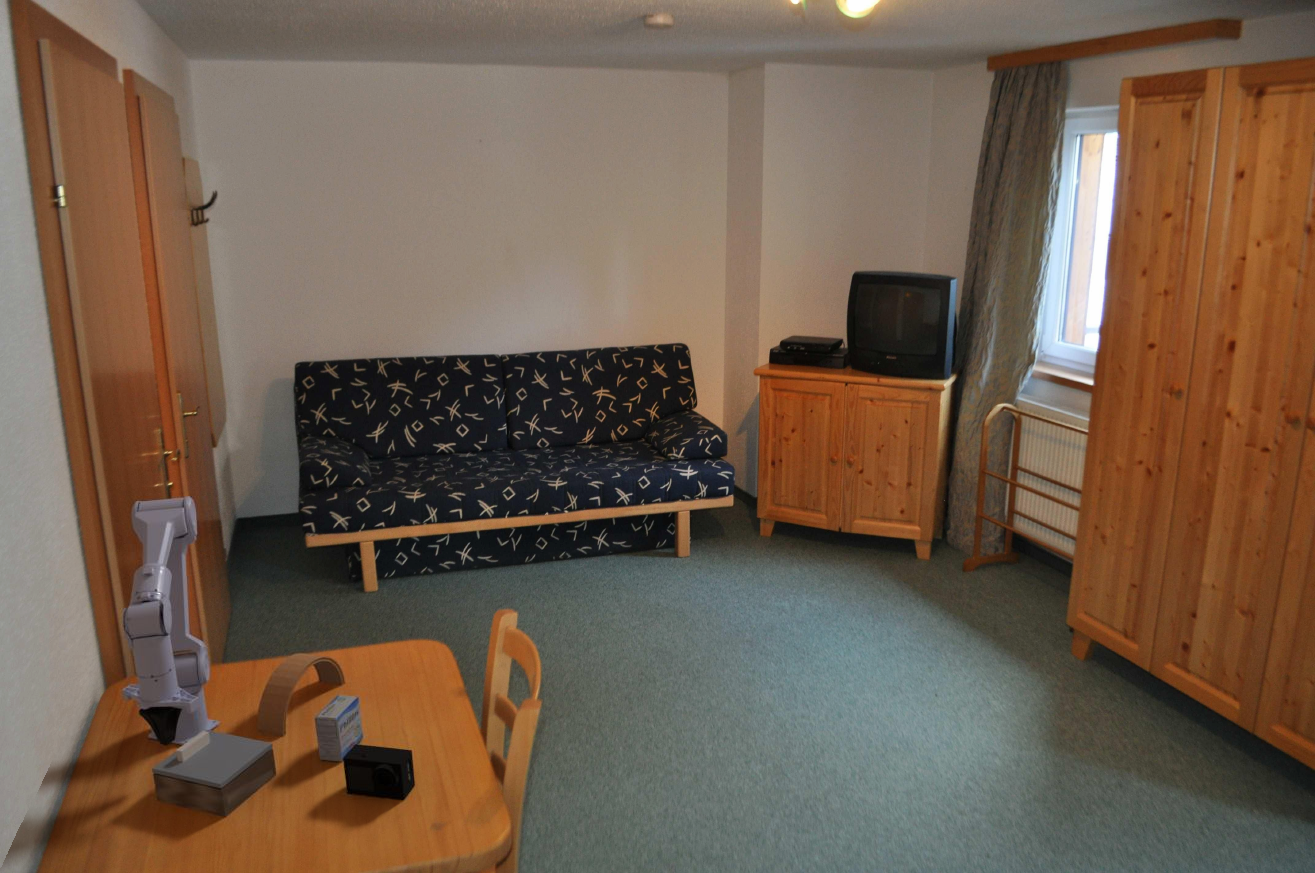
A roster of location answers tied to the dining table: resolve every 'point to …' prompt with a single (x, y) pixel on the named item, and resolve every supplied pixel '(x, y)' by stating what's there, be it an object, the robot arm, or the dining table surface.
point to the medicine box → (338, 727)
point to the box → (213, 797)
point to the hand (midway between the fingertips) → (167, 741)
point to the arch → (291, 688)
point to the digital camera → (379, 772)
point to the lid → (212, 758)
